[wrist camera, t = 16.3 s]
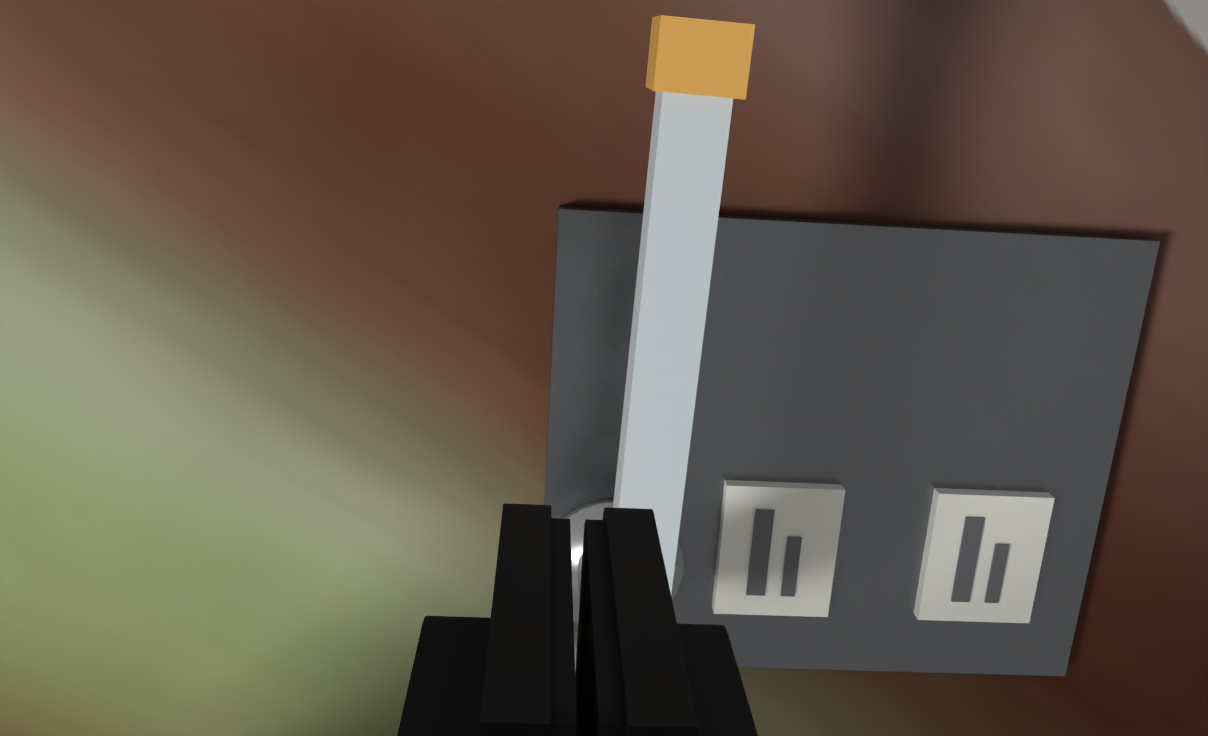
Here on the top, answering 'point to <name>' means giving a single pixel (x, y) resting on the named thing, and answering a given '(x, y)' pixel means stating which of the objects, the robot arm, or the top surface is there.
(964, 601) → the label plate
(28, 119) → the top surface
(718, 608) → the label plate
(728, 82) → the bar
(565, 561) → the robot arm
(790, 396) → the board
